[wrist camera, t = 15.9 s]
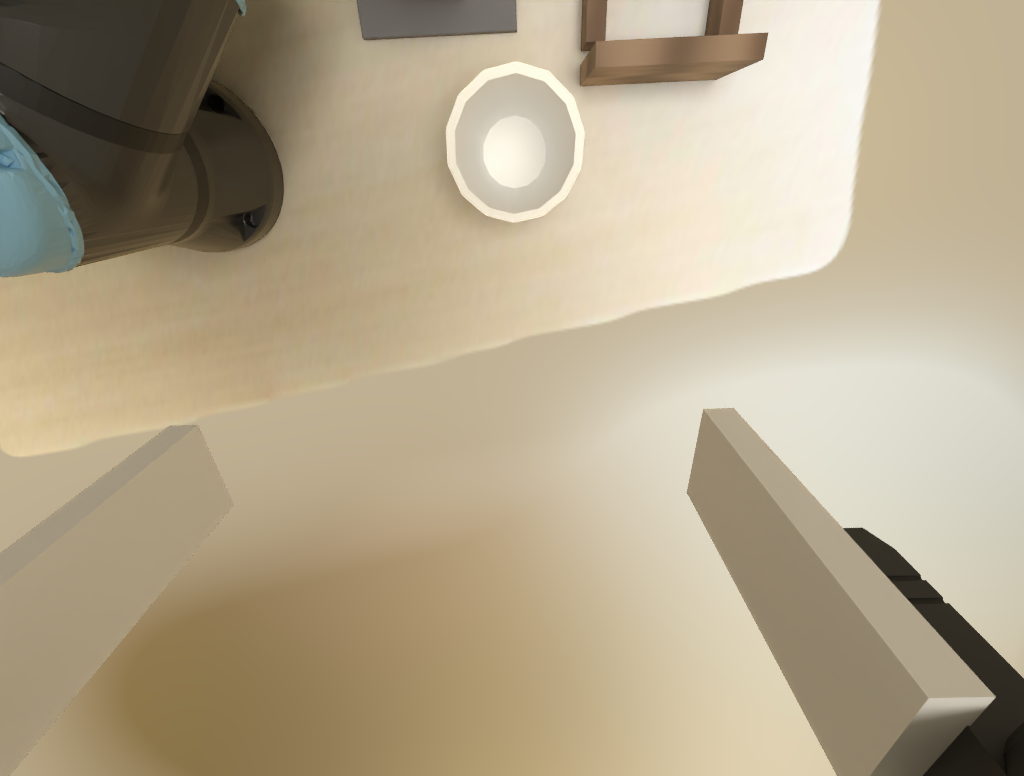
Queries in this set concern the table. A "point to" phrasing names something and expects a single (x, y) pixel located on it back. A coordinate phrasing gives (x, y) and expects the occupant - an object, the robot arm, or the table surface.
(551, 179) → the foam cup
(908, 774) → the robot arm
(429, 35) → the mat
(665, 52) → the rack
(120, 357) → the table surface
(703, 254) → the table surface
